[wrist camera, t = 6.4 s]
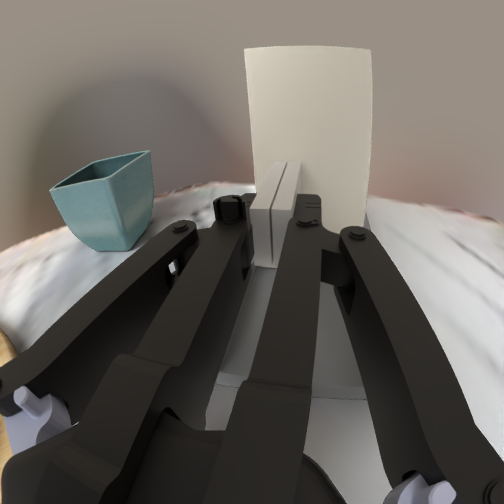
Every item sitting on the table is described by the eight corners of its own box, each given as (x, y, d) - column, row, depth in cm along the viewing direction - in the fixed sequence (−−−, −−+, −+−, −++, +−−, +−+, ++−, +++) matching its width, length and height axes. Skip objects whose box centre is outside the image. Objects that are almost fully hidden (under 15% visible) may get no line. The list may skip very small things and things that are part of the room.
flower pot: (74, 262, 27) (46, 189, 22) (111, 223, 34) (93, 160, 29) (135, 264, 25) (107, 177, 20) (167, 220, 32) (152, 149, 27)
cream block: (350, 231, 24) (356, 58, 16) (355, 273, 19) (370, 49, 11) (274, 227, 26) (263, 57, 17) (261, 266, 21) (244, 49, 12)
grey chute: (355, 207, 32) (357, 186, 30) (381, 399, 12) (397, 375, 11) (272, 203, 34) (271, 182, 32) (205, 381, 15) (194, 355, 13)
